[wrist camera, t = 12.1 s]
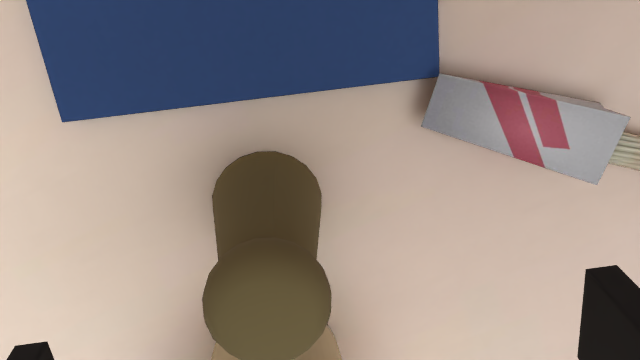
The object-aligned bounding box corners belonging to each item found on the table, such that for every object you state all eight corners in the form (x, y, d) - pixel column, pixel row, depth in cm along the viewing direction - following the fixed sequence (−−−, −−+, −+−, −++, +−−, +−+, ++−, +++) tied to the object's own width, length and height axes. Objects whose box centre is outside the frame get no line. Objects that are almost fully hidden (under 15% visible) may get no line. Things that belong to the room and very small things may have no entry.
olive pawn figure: (292, 264, 34) (302, 407, 24) (194, 225, 32) (162, 361, 22) (341, 178, 32) (375, 294, 22) (239, 132, 30) (226, 235, 20)
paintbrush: (453, 69, 27) (789, 160, 31) (435, 56, 29) (749, 143, 34) (425, 145, 28) (751, 223, 33) (410, 127, 31) (714, 201, 35)
